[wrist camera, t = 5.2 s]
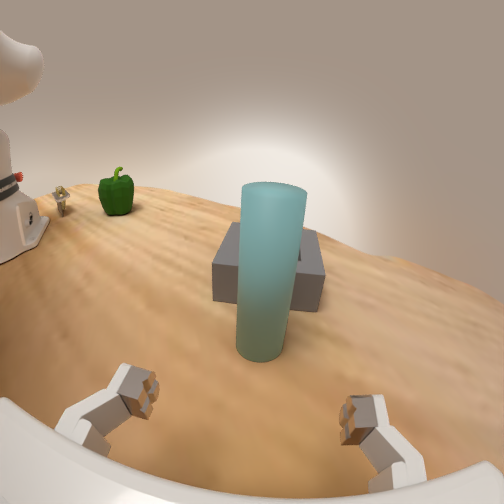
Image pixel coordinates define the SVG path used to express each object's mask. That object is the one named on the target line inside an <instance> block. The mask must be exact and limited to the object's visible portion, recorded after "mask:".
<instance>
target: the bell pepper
mask: <svg viewBox="0 0 504 504" xmlns="http://www.w3.org/2000/svg"><path fill="white" fill-rule="evenodd" d="M122 169H123V168H122V167H118V168H116V170H115V172H114V176H113V177H111V178H105V179H102V180H100V184H99V188H98V193H99V199H100V201H101V204H102V207H103V209H104V211H105V212H106V213H107V214H108V215H115V214H126V213H128V212H129V211H131V208H132V204H133V195H134V183H133V180H132V178H130V177H129V176H128V175H123V176H121V177H120V176H118V173H119V171H122Z"/></svg>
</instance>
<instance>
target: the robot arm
mask: <svg viewBox="0 0 504 504" xmlns="http://www.w3.org/2000/svg"><path fill="white" fill-rule="evenodd" d="M43 70H44V59H43V56H42V53H41V52H40V50H39V49H38V48H37V47H36V46H31V45H25V44H22V43H18V42H16V41H14V40H12V39H11V38H9V37H7V36H6V35H5V34H4V33H3V32H2V31H1V30H0V106H3V105H6V104H8V103H12V102H14V101H16V100H18V99H20V98H22V97H24V96H25V95H28V94H29V93H31V92H33V91H34V90H35V88H36V87H37V85H38V84H39V82H40V80H41V78H42V75H43ZM21 173H22V172H19V173H15V174H13V173H12V168H11V158H10V144H9V138H8V136H7V134H6V133H5V132H4V131H3V130H1V129H0V264H1V263H3V262H5V261H8V260H10V259H12V258H13V257H15V256H17V255H19V254H20V253H22V252H24V251H26V250H29V249H31V248H34V247H35V246H37V245H38V243H39V241H40V239H41V237H42V235H43V233H44V231H45V229H46V227H47V225H48V224H49V222H50V219H49V217H46V216H40V215H39V211H38V207H37V204H36V201H35V200H33V199H32V198H30V197H28V196H27V195H25V194H24V193H22V192H21V191H19V190H18V189H19V186H18V184H17V182H21V181H22V180H23V179H22V178H23V177H22V176H23V175H22V174H21ZM155 378H156V374H155V372H154V371H150V370H146V369H142V368H139V367H135V366H133V365H129V364H126V363H122V364H121V365H120V366H119V368H118V370H117V371H116V373H115V375H114V376H113V378H112V380H111V382H110V384H109V385H108V387H107V389H102V390H100V391H98V392H96V393H95V394H93V395H91V396H89V397H87V398H85V399H84V400H82V401H80V402H78V403H76V404H74V405H72V406H71V407H69V408H67V409H66V410H65V411H64V413H63V415H62V417H61V418H60V420H59V422H58V424H57V425H56V427H55V429H54V430H53V429H52V428H50V427H48V426H47V425H45V424H44V423H42V422H41V421H39V420H38V419H36V418H35V417H33V416H32V415H30V414H29V413H27V412H26V411H25V410H23V409H22V408H20V407H19V406H18V405H16V404H15V403H14V402H13V401H11V400H10V399H8V398H6V397H2V398H0V504H504V476H503V474H502V472H501V471H500V470H499V469H497V468H496V467H495V466H494V465H493V464H491V463H490V462H488V461H486V460H484V461H480V462H478V463H476V464H473V465H471V466H468V467H466V468H463V469H461V470H458V471H456V472H453V473H450V474H447V475H444V476H441V477H438V478H435V479H432V480H428V481H427V478H426V472H425V466H424V460H423V456H422V455H421V454H420V453H419V452H418V451H417V450H416V449H415V448H414V447H413V446H412V445H411V444H410V443H409V442H408V441H407V440H406V439H405V438H404V437H403V436H402V435H401V434H400V433H399V432H398V430H397V429H396V428H395V427H394V426H390V424H389V419H388V414H387V409H386V405H385V400H384V396H383V395H381V394H377V395H350V396H348V397H347V399H346V404H344V405H343V406H342V407H341V410H340V414H339V424H340V425H341V427H342V428H343V429H342V431H341V432H340V440H341V445H359V447H360V448H361V450H362V451H363V453H364V454H365V455H366V457H367V458H368V460H369V461H370V462H371V464H372V465H373V467H374V468H375V469H376V471H377V472H378V473H379V474H377V475H376V476H375V477H373V478H372V479H370V480H369V481H368V492H369V494H362V495H354V496H345V497H333V498H309V499H294V498H269V497H257V496H247V495H239V494H232V493H225V492H219V491H214V490H208V489H204V488H199V487H194V486H190V485H186V484H182V483H178V482H174V481H171V480H167V479H164V478H161V477H157V476H154V475H151V474H148V473H145V472H142V471H139V470H137V469H134V468H131V467H129V466H126V465H123V464H121V463H119V462H116V461H114V460H111V459H109V458H107V455H108V453H109V451H110V448H111V445H110V444H109V442H108V441H107V440H106V439H105V438H104V436H106V435H107V434H108V433H110V432H111V431H112V430H114V429H115V428H117V427H118V426H119V425H121V424H122V423H123V422H125V421H126V420H127V419H129V418H130V417H131V415H132V416H136V417H139V418H142V419H146V420H149V417H150V415H151V413H152V410H153V407H152V403H154V402H155V401H157V398H158V395H159V383H158V382H157V381H156V380H155Z"/></svg>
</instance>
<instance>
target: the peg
mask: <svg viewBox="0 0 504 504" xmlns="http://www.w3.org/2000/svg"><path fill="white" fill-rule="evenodd" d="M306 199H307V192H306V191H305V190H303V189H301V188H299V187H296V186H293V185H289V184H284V183H276V182H254V183H249V184H246V185H244V186H243V187H242V197H241V219H240V242H239V267H238V295H237V325H236V348H237V351H238V352H239V354H240V355H241V356H243V357H244V358H246V359H247V360H250V361H253V362H268V361H271V360H273V359H275V358H276V357H278V356H279V354H280V353H281V351H282V347H283V342H284V337H285V332H286V326H287V321H288V316H289V310H290V304H291V299H292V293H293V287H294V281H295V275H296V269H297V263H298V256H299V250H300V243H301V236H302V229H303V222H304V215H305V207H306Z"/></svg>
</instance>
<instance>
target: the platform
mask: <svg viewBox="0 0 504 504" xmlns="http://www.w3.org/2000/svg"><path fill="white" fill-rule="evenodd" d="M59 187H60V186H59ZM59 194H63V196H62V197H59V196H60V195H59ZM52 196H53V197H54V199H55V201H56V202H57V205H58V210H59V212H60V213H61V215H62V216H63V211H62V210H63V207H64V210H65V200H66V199H67V198H69V197H70V194H69V193H68V192H67V191H66V190H65V189H64V188H63V187H62V186H61V191H60V190H59V191H58V189H57V188H56V192H54V193H52ZM61 201H62V205H61Z"/></svg>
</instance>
